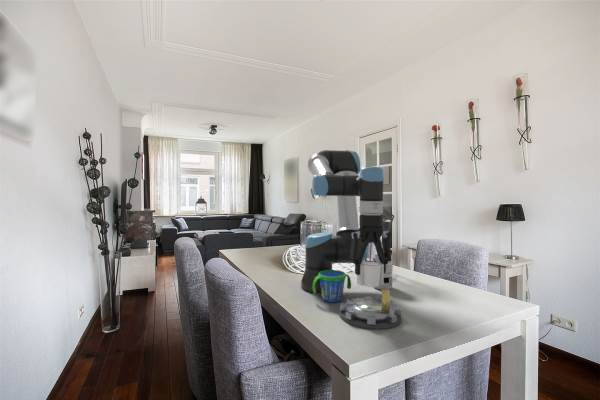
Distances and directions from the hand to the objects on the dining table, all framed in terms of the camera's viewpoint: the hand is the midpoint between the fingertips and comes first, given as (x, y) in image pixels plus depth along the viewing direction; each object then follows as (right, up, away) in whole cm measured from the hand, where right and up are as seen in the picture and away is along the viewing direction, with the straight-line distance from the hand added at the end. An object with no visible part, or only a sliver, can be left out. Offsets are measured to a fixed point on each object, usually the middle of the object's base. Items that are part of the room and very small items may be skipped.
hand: (370, 283), depth 99 cm
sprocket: (0, -10, 0) cm, 10 cm away
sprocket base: (0, -11, 0) cm, 11 cm away
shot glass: (0, -1, 0) cm, 1 cm away
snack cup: (-11, -11, +16) cm, 22 cm away
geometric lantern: (+15, -10, +52) cm, 56 cm away
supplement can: (+13, -11, +31) cm, 35 cm away
